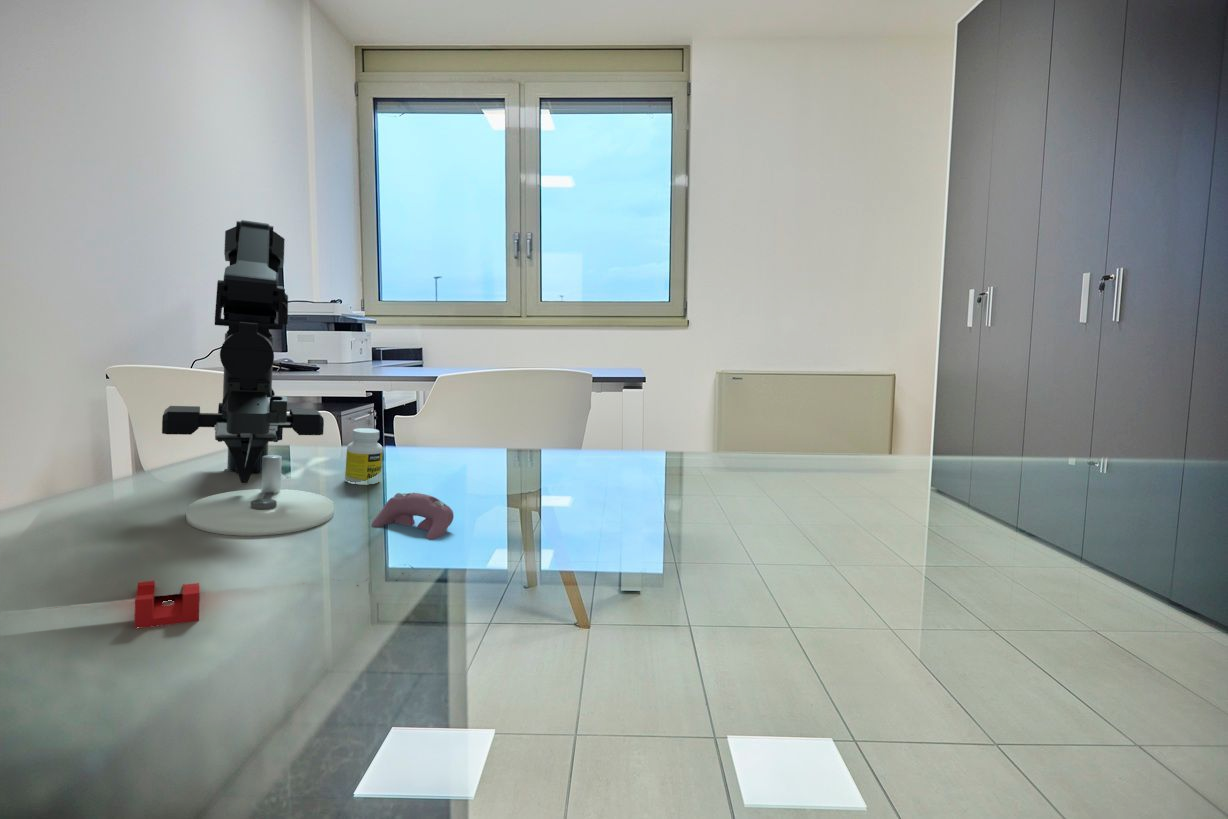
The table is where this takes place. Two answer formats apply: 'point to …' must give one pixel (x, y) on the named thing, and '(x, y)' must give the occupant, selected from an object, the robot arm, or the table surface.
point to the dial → (261, 508)
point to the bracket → (155, 613)
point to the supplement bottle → (363, 455)
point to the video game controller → (416, 513)
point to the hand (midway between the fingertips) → (244, 482)
